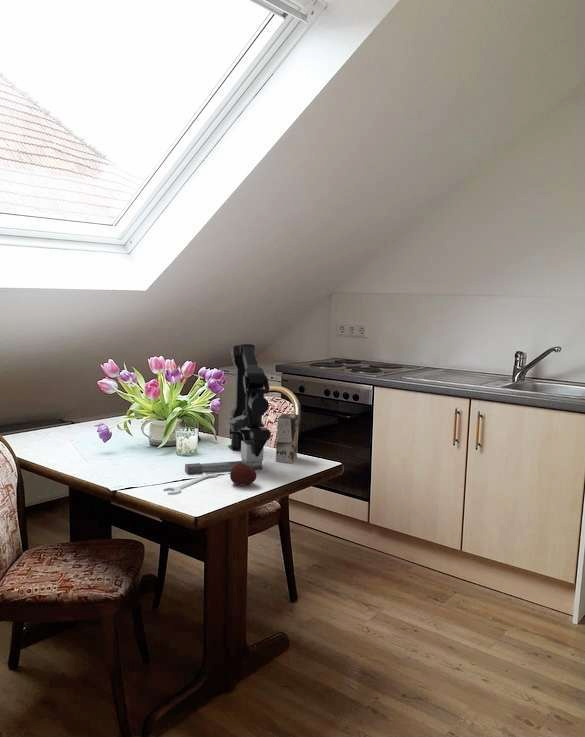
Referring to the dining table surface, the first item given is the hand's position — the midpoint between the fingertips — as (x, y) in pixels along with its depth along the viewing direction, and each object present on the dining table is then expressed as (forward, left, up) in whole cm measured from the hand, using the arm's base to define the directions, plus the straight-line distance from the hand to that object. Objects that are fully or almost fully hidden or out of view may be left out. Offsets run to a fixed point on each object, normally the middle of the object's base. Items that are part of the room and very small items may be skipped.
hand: (252, 452), depth 225 cm
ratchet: (0, -10, -5) cm, 11 cm away
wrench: (+12, -24, -6) cm, 27 cm away
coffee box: (-7, +16, -5) cm, 18 cm away
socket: (0, 0, -2) cm, 2 cm away
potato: (+17, -9, -6) cm, 20 cm away
